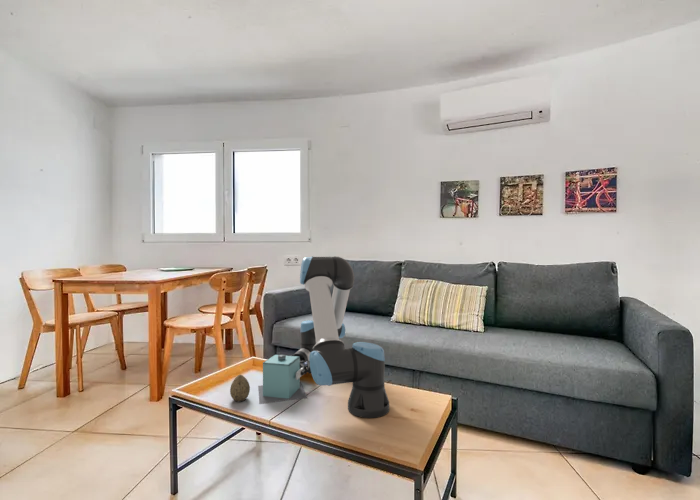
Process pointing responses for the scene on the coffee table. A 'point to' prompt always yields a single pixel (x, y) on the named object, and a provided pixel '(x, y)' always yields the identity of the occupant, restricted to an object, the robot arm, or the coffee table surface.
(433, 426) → the coffee table surface
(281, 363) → the teal box with knob
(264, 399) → the mat
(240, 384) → the decorative egg
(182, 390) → the coffee table surface
